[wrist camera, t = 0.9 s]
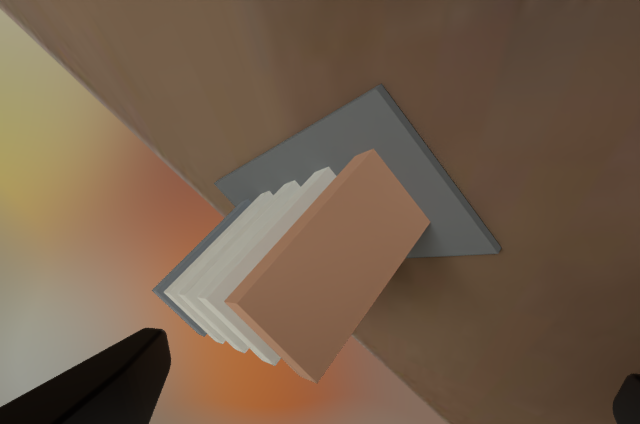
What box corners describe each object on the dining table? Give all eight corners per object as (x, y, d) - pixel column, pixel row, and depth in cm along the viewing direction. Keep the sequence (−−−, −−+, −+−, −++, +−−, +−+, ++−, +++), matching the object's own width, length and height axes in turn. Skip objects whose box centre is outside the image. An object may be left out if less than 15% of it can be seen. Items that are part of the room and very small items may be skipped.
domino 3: (294, 180, 29) (184, 295, 25) (341, 234, 30) (244, 353, 26) (284, 184, 30) (177, 294, 26) (329, 236, 32) (235, 349, 27)
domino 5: (373, 148, 22) (236, 303, 17) (430, 221, 23) (317, 383, 19) (354, 155, 23) (223, 301, 19) (409, 224, 25) (299, 375, 20)
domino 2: (269, 190, 33) (168, 292, 28) (312, 239, 34) (222, 344, 30) (260, 194, 34) (163, 292, 30) (302, 240, 35) (215, 341, 31)
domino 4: (328, 166, 25) (205, 298, 21) (380, 229, 27) (275, 365, 22) (314, 172, 27) (196, 297, 22) (364, 231, 28) (262, 360, 24)
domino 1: (248, 199, 36) (155, 290, 32) (287, 242, 38) (204, 336, 33) (241, 201, 38) (151, 290, 33) (279, 243, 39) (198, 334, 35)
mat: (381, 83, 19) (376, 88, 19) (501, 247, 22) (498, 253, 22) (217, 180, 39) (213, 183, 39) (291, 260, 41) (288, 263, 41)
